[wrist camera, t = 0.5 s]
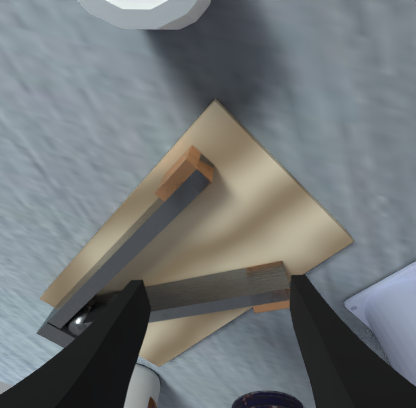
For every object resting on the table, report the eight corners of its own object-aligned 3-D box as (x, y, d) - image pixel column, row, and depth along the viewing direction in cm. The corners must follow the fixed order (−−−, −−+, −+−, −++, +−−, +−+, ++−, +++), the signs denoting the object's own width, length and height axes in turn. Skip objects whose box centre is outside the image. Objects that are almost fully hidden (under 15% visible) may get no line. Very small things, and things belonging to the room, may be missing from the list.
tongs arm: (286, 278, 23) (294, 306, 20) (93, 312, 26) (78, 340, 24) (281, 257, 22) (289, 285, 19) (81, 296, 25) (64, 323, 23)
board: (346, 230, 22) (354, 241, 21) (162, 354, 32) (159, 367, 30) (215, 98, 18) (214, 100, 16) (48, 287, 27) (39, 298, 26)
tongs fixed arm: (234, 183, 19) (235, 203, 16) (83, 321, 27) (68, 350, 24) (192, 145, 18) (186, 159, 15) (48, 301, 26) (28, 328, 23)
